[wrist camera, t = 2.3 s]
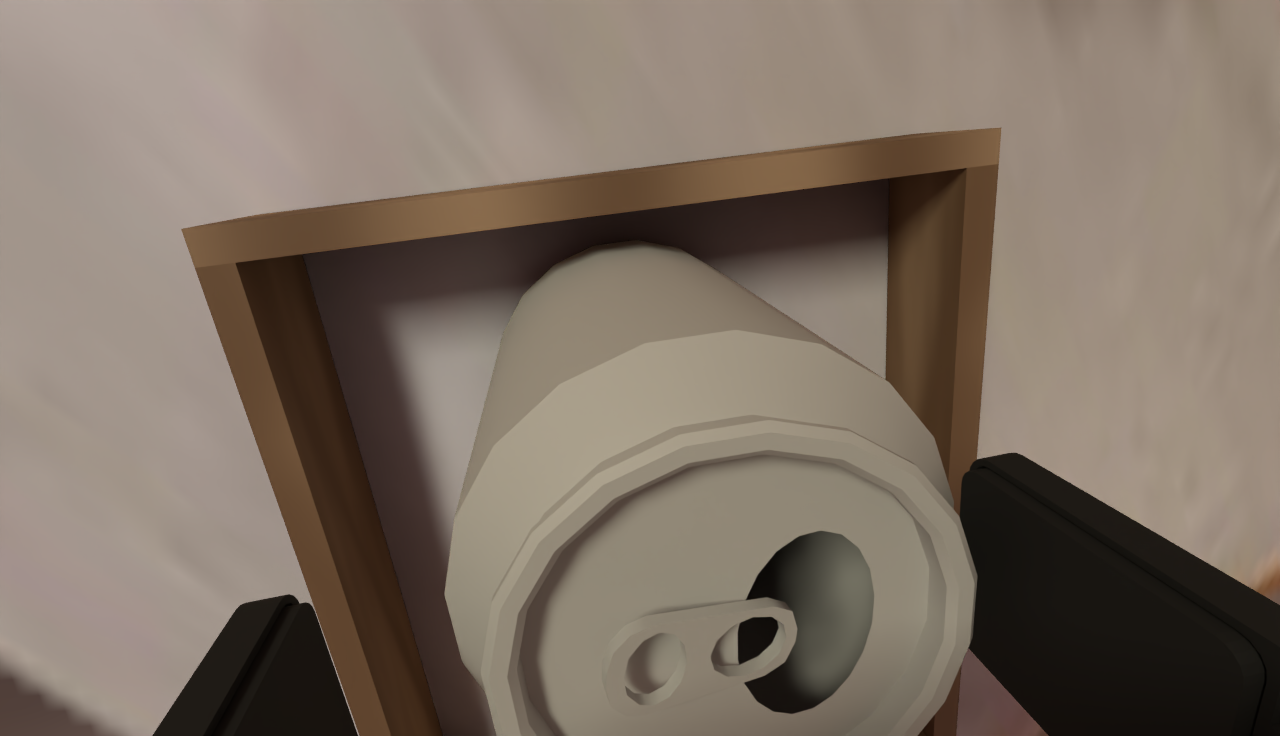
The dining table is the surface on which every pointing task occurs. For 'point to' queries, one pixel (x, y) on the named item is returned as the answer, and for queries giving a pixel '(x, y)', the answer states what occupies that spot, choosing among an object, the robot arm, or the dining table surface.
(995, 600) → the robot arm
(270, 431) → the wooden frame
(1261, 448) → the dining table surface
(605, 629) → the can
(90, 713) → the dining table surface
